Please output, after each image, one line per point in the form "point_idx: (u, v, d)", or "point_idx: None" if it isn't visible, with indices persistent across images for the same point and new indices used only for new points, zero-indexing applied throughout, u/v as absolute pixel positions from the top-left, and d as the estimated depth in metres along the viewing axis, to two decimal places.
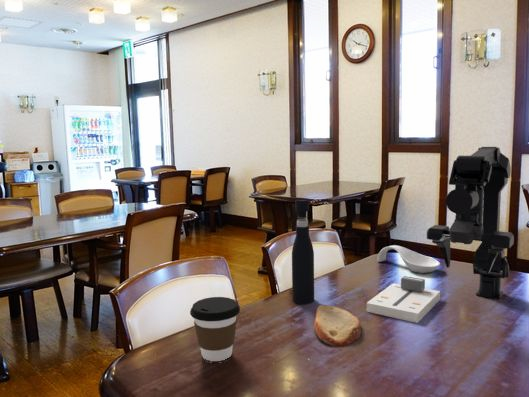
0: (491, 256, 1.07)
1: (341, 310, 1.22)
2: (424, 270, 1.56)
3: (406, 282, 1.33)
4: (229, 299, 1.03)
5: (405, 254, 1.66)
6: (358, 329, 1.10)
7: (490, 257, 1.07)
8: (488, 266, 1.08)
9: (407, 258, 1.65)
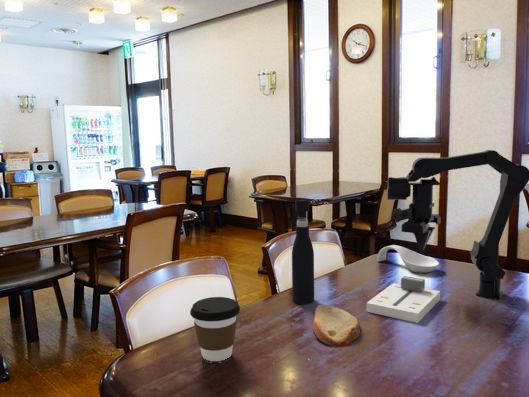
0: None
1: (340, 310, 1.22)
2: (423, 270, 1.56)
3: (406, 282, 1.33)
4: (229, 299, 1.03)
5: (405, 254, 1.66)
6: (357, 329, 1.10)
7: None
8: None
9: (406, 258, 1.65)
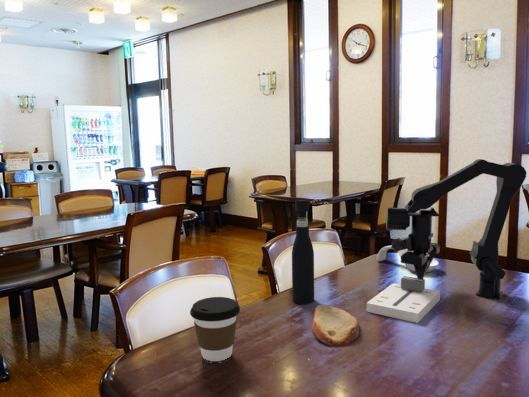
0: None
1: (339, 310, 1.22)
2: None
3: (406, 282, 1.33)
4: (229, 299, 1.03)
5: None
6: (356, 329, 1.10)
7: None
8: None
9: None
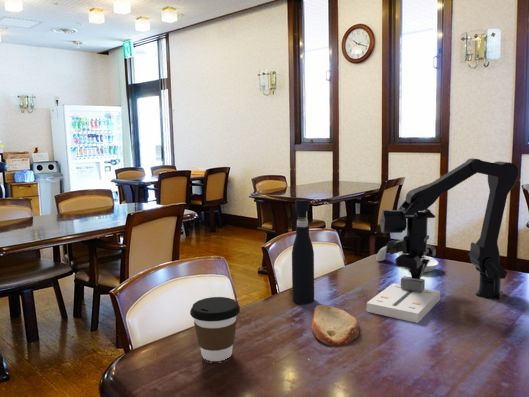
0: None
1: (339, 310, 1.22)
2: None
3: (406, 282, 1.33)
4: (229, 299, 1.03)
5: None
6: (356, 329, 1.10)
7: None
8: None
9: None
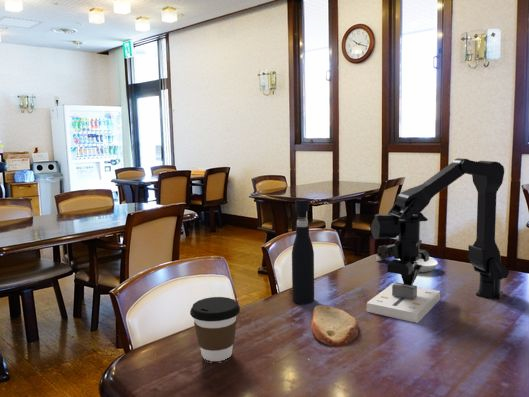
0: None
1: (338, 310, 1.22)
2: (422, 269, 1.57)
3: (398, 289, 1.28)
4: (229, 299, 1.03)
5: None
6: (355, 329, 1.10)
7: None
8: None
9: None
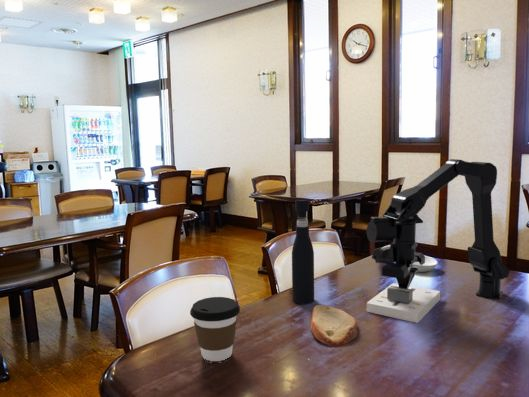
0: None
1: (337, 310, 1.22)
2: (422, 269, 1.57)
3: (393, 293, 1.25)
4: (229, 299, 1.03)
5: None
6: (355, 329, 1.10)
7: None
8: None
9: None
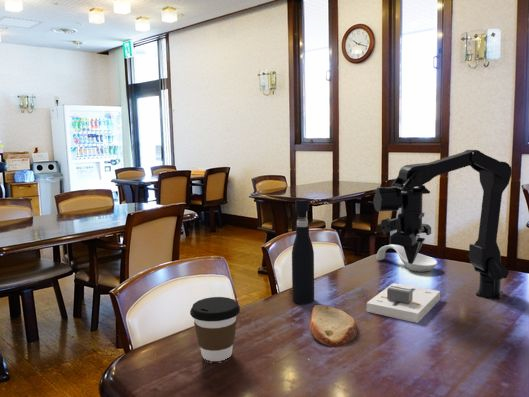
0: None
1: (337, 310, 1.22)
2: (421, 269, 1.57)
3: (393, 293, 1.25)
4: (229, 299, 1.03)
5: (403, 253, 1.67)
6: (354, 329, 1.10)
7: None
8: None
9: (405, 257, 1.66)
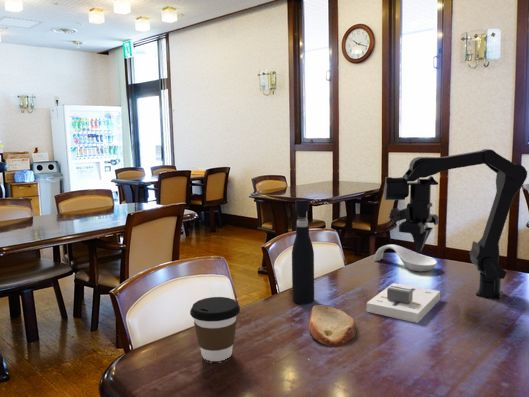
0: None
1: (336, 310, 1.22)
2: (422, 269, 1.58)
3: (393, 293, 1.25)
4: (229, 299, 1.03)
5: (402, 253, 1.67)
6: (353, 329, 1.10)
7: None
8: None
9: (404, 257, 1.66)
